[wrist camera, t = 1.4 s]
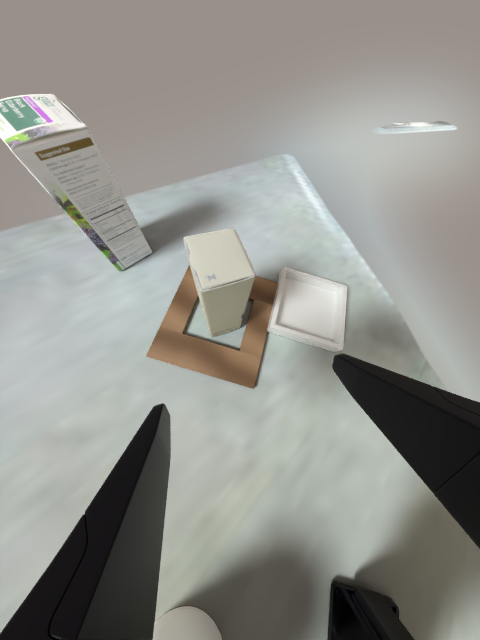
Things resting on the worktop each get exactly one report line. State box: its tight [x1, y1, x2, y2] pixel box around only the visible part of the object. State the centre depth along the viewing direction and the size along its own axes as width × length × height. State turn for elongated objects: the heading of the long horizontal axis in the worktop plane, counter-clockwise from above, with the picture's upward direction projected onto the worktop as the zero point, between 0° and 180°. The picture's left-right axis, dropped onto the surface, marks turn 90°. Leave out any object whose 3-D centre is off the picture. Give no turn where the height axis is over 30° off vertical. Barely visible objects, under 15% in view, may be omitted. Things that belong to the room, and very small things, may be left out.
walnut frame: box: [146, 265, 278, 389], centre depth 24 cm, size 16×14×1 cm
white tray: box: [267, 267, 347, 352], centre depth 25 cm, size 10×10×2 cm
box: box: [183, 228, 255, 337], centre depth 18 cm, size 5×4×13 cm
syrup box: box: [0, 94, 152, 271], centre depth 20 cm, size 6×6×14 cm
